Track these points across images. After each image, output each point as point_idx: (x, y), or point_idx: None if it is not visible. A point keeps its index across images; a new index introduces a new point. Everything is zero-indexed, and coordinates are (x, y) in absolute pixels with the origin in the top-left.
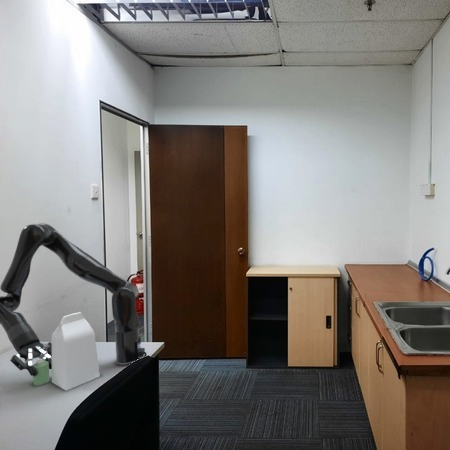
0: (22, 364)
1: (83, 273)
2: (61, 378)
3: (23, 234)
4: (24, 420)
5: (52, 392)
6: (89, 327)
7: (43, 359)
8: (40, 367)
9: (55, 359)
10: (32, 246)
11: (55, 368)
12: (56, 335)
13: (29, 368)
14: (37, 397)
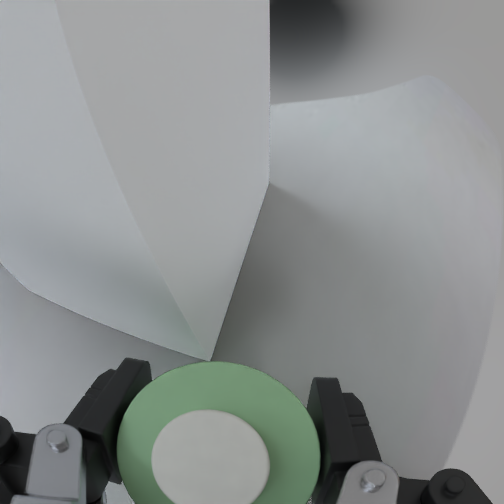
0: (471, 497)
1: None
2: (254, 178)
3: None
4: (462, 167)
5: (308, 233)
6: None
7: (153, 456)
8: (277, 380)
9: (201, 144)
10: None
11: (214, 227)
12: None
13: (378, 454)
14: (377, 265)
